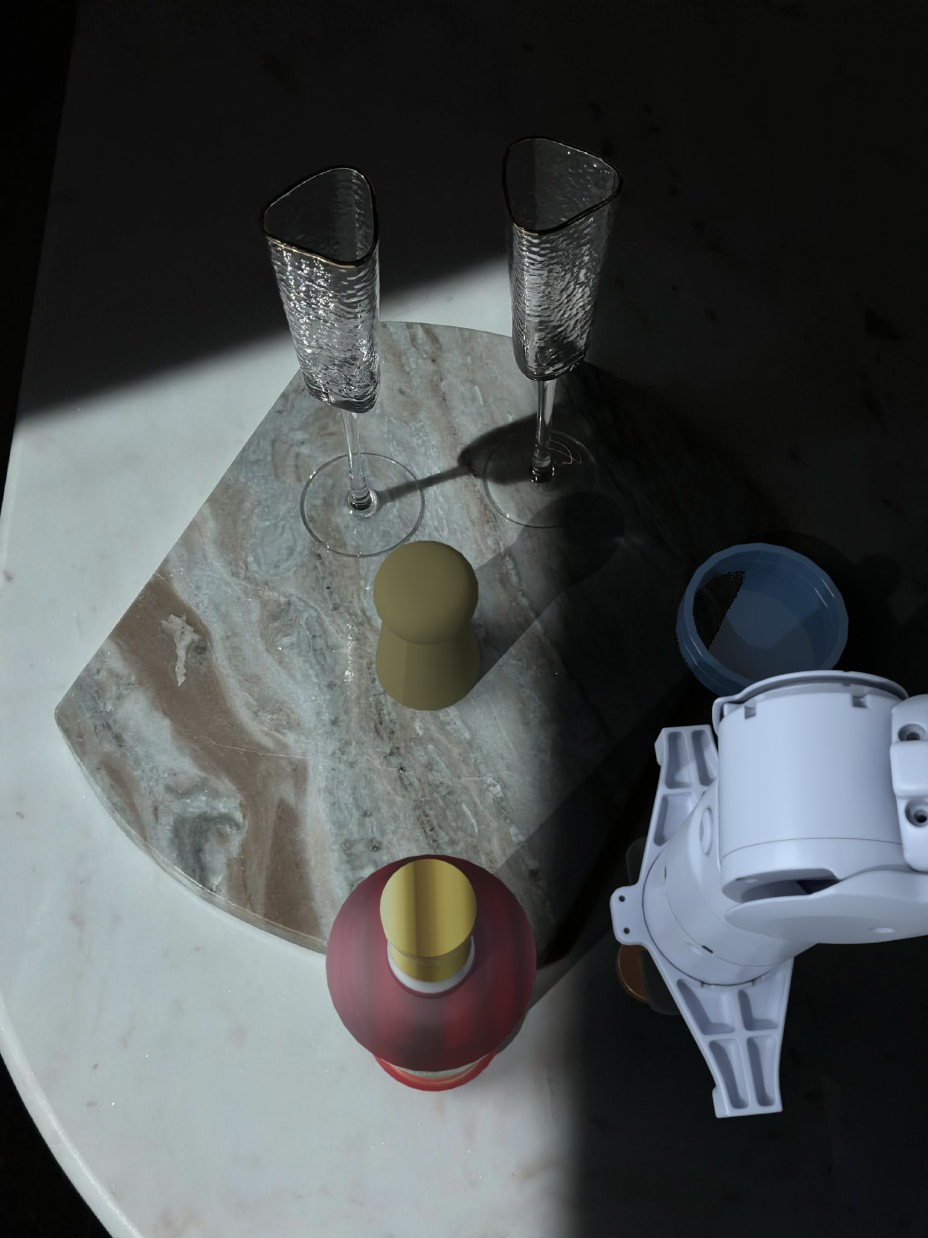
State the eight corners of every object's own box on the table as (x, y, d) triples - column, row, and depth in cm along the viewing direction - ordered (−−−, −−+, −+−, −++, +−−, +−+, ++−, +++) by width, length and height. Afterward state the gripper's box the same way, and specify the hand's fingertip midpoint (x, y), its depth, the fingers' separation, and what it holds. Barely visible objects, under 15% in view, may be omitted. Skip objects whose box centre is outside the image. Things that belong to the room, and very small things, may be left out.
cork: (429, 596, 67) (427, 498, 57) (503, 665, 65) (514, 577, 55) (352, 663, 65) (336, 574, 55) (426, 736, 63) (423, 658, 53)
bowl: (854, 610, 67) (871, 587, 64) (796, 738, 64) (812, 719, 61) (712, 543, 69) (723, 517, 66) (648, 664, 65) (657, 643, 63)
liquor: (361, 1102, 55) (293, 1056, 30) (359, 945, 58) (296, 784, 33) (513, 1094, 56) (572, 1041, 30) (503, 938, 59) (549, 773, 33)
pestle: (699, 952, 58) (747, 914, 49) (669, 1018, 56) (713, 992, 47) (634, 916, 58) (670, 872, 49) (603, 981, 57) (633, 948, 48)
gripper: (602, 693, 42) (565, 797, 55) (665, 1121, 36) (608, 1130, 49) (790, 679, 43) (712, 786, 55) (883, 1100, 37) (772, 1114, 49)
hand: (673, 946), depth 52 cm, fingers closed on pestle, 2 cm apart
